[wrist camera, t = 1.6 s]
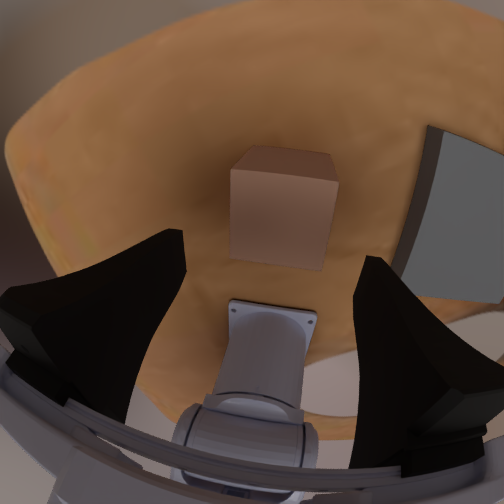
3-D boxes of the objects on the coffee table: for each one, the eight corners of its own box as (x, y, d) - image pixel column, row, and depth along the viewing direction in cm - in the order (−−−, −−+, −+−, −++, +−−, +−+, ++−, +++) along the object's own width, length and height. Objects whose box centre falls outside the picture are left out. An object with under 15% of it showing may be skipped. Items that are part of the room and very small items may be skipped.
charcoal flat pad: (486, 283, 19) (498, 303, 17) (387, 269, 21) (394, 293, 19) (530, 169, 13) (550, 182, 10) (425, 124, 14) (443, 131, 12)
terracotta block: (319, 221, 20) (321, 271, 15) (250, 212, 20) (229, 258, 15) (329, 154, 17) (339, 182, 12) (253, 145, 17) (230, 169, 12)
